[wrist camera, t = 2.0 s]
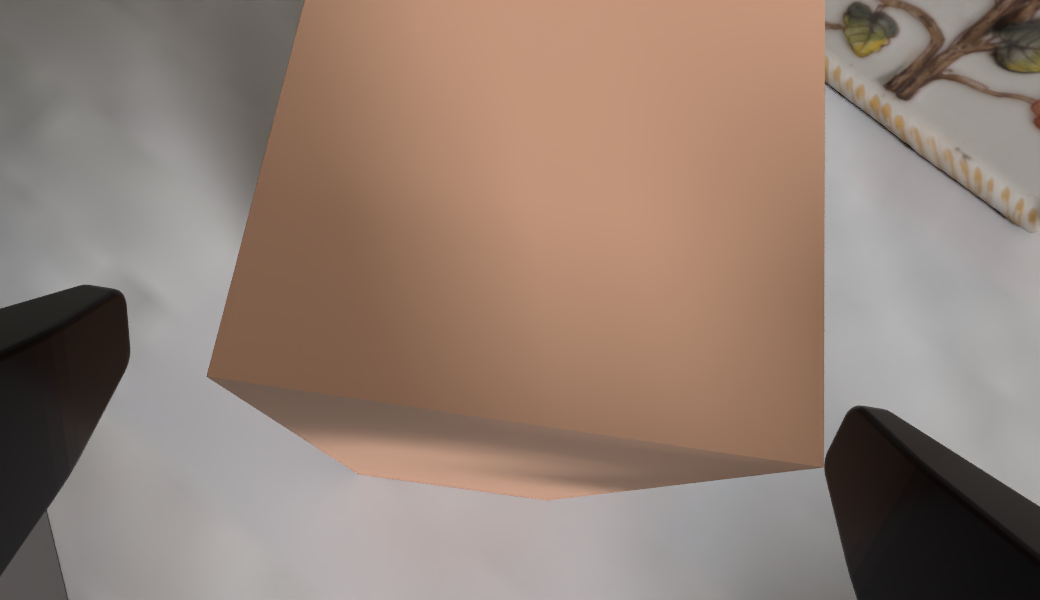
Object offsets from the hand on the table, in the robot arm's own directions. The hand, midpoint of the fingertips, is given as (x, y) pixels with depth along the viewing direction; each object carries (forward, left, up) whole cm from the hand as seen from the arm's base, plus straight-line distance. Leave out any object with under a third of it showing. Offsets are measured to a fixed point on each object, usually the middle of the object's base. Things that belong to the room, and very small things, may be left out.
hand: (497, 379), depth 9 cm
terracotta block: (+1, -1, -9) cm, 9 cm away
